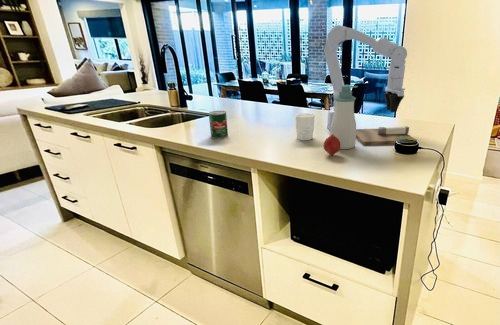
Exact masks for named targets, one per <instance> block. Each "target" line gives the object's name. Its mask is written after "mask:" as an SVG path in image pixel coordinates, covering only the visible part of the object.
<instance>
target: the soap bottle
mask: <svg viewBox="0 0 500 325" xmlns="http://www.w3.org/2000/svg"><path fill="white" fill-rule="evenodd" d="M351 88H354V89H356V88H358V85H347V84H346V85H345V84H344V86H342V91H339V96H337V97H336V98H335V100H336V108H335V113H334V117H333V120H332V123H331V127H330V130H329V136H328V137H330V136H331V135H332V134H334V136H335V137H337V138H338V140H339V141H340V149H339V150H350V149H353V148H355V147H356V140H357V139H356V129H357V122H356V117H355V101H356V99H357V97H355V96H353V91H352V90H351Z"/></svg>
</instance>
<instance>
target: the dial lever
mask: <svg viewBox="0 0 500 325" xmlns="http://www.w3.org/2000/svg"><path fill="white" fill-rule="evenodd" d="M377 129H378V134H379V135H385V134H408V135H409V132H410V127H409V126H407V125H406V126H379V127H378V128H377Z"/></svg>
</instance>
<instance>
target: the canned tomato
mask: <svg viewBox="0 0 500 325" xmlns="http://www.w3.org/2000/svg"><path fill="white" fill-rule="evenodd" d="M208 119H209V129H210V137H211V139H225V138H228V136H229V132H228V121H227V120H228V118H227V111H225V110H213V111H209V112H208Z"/></svg>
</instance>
